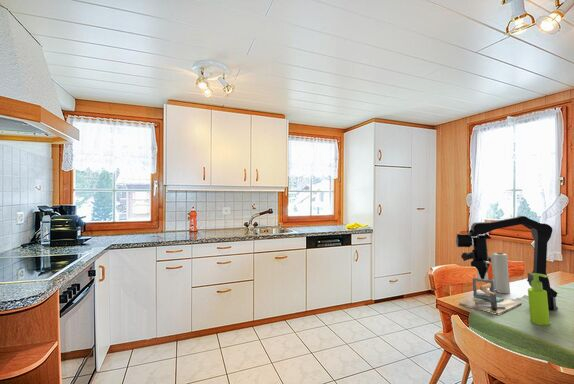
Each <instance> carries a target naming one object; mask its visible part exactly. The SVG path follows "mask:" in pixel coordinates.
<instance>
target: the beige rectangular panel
mask: <svg viewBox="0 0 574 384" xmlns="http://www.w3.org/2000/svg"><path fill="white" fill-rule="evenodd" d="M496 301H497V311H494V310H491V300H490V298H485V297H478V296H473V297H471V298H468V299H465V300H462V301H460V302H458V305H459V306H463V307H464V308H465V307H466V308H469V309H473V310H476V311H480V310H486V311H490V312H493V313H496V314H501V313H503V314H505V313H507V312H506V311H508V310H510V309H512V308H514V307H516V306H518V305H520V304H523V303H522V302H521V301H518V300H517V301H516V300H513V299H507V298H502V297H499V296H496ZM520 306H521V305H520ZM518 307H519V306H518ZM516 308H517V307H516ZM514 309H515V308H514ZM512 310H513V309H512ZM510 311H511V310H510ZM504 312H505V313H504ZM508 312H509V311H508ZM501 315H502V314H501Z"/></svg>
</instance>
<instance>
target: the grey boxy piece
mask: <svg viewBox="0 0 574 384" xmlns="http://www.w3.org/2000/svg"><path fill="white" fill-rule="evenodd" d="M476 273H477V274H476V275H477V276H476V277H472V278H471V279H472V286H473V287H472V290H473V294H472V295H473V297H474V296H478V297H485V298H490V296H489V295H487V294H486V293H484V292H478V290H477V282H483V283H491V292H493V293H494V294H496V293H495V292H494V280H493V279H489V275H488V274H489V273H488V271H486V274H485V277H484V279H481V277H480V275H479V272H478V270H477V271H476Z"/></svg>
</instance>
